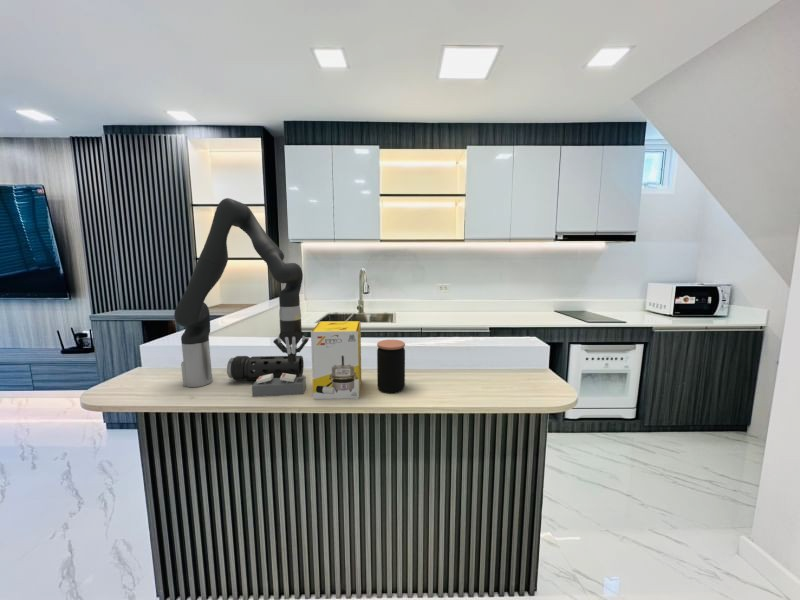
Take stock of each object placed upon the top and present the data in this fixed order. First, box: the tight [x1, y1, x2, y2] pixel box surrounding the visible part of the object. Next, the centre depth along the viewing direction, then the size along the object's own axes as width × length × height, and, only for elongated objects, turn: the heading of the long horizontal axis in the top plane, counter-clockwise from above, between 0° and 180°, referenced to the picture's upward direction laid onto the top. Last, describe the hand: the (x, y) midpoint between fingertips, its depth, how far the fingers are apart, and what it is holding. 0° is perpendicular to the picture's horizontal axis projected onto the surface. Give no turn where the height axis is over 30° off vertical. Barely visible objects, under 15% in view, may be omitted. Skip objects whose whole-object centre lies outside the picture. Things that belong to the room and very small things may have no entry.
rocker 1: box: [257, 373, 274, 384], centre depth 123 cm, size 5×4×1 cm
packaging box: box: [310, 320, 362, 401], centre depth 125 cm, size 16×16×25 cm
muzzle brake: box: [226, 355, 305, 382], centre depth 135 cm, size 10×28×10 cm, turn 93°
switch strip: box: [251, 376, 307, 398], centre depth 125 cm, size 18×7×4 cm, turn 97°
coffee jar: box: [376, 339, 406, 394], centre depth 127 cm, size 11×11×18 cm
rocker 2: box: [280, 373, 296, 382], centre depth 125 cm, size 5×4×1 cm
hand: (292, 362), depth 124 cm, fingers closed
